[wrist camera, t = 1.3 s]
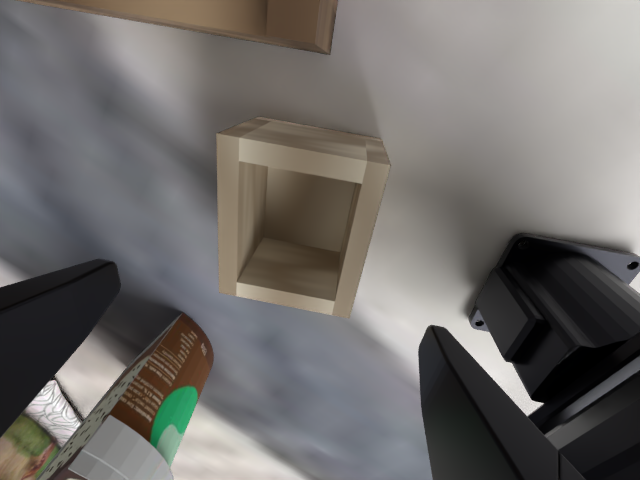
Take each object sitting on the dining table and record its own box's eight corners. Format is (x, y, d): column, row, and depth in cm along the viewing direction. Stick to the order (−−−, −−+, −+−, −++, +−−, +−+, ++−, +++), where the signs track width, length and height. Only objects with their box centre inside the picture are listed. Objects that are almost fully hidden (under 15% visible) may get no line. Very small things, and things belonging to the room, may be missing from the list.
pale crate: (381, 138, 14) (390, 165, 10) (351, 259, 18) (349, 318, 13) (259, 116, 15) (216, 133, 10) (253, 240, 18) (219, 292, 14)
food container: (179, 410, 27) (95, 565, 19) (119, 374, 26) (-3, 525, 17) (261, 350, 22) (198, 526, 14) (193, 301, 21) (72, 464, 12)
